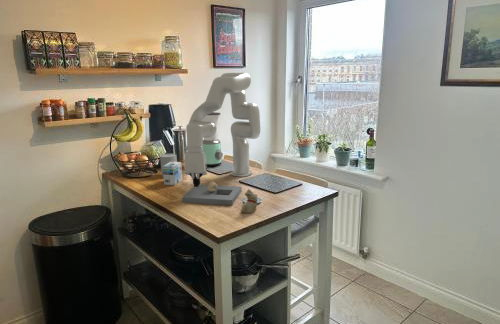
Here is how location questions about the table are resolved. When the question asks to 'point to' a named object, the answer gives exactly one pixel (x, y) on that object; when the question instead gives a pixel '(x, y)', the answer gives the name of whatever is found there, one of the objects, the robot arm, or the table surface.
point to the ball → (211, 186)
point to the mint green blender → (212, 142)
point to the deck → (212, 195)
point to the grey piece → (167, 160)
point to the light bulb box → (172, 173)
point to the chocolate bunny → (249, 202)
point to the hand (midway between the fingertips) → (196, 186)
